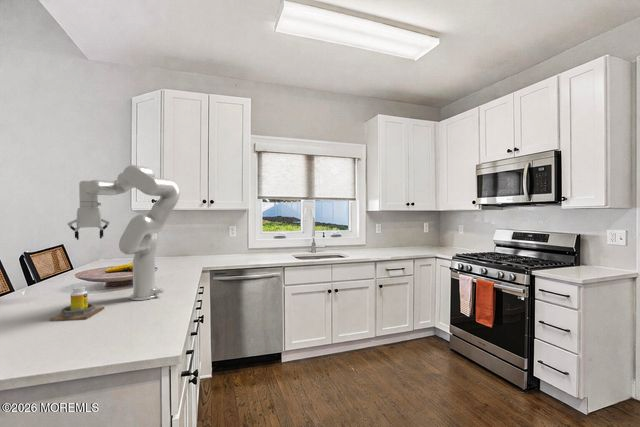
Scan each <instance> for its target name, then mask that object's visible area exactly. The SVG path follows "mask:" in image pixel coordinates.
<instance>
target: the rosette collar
mask: <svg viewBox="0 0 640 427" xmlns="http://www.w3.org/2000/svg"><path fill="white" fill-rule="evenodd" d="M103 309H104V310H105V306H96V304H95V303H89V302H88V308H86V309H83V310H77V311H71V305H69V306H66V307H64V308H61V313H59V314H57V315H55V316H51V317H50V320H49V321H50V322H54V321H55V322H57V321H58V322H59V321H80V320H81V321H82V320H88V319H89V318H92V317H93V316H95V315H97V314H99V313H100V312H102V311H104V310H103Z"/></svg>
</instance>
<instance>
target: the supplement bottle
mask: <svg viewBox="0 0 640 427" xmlns="http://www.w3.org/2000/svg"><path fill="white" fill-rule="evenodd" d="M88 301H89V300H88V291H87V290H86V287H85V286H84V285H83V286H82V285H81V286H75V287H73V288H72V292H71V293H70V306H71V311H77V310H83V309H86V308H88V303H89V302H88Z"/></svg>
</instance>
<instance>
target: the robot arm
mask: <svg viewBox="0 0 640 427" xmlns="http://www.w3.org/2000/svg"><path fill="white" fill-rule="evenodd" d="M78 184H79V185H78V187H79V188H78V189H79V190H78V192H79V194H78V196H79V197H78V198H79V207H77V210H76V219H73V220H71V221H69V222H67V226H68V227H69V228H70V229H71V230H73V231H74V239H76V240H77V241H78V240H79V239H80V238H79V237H80V236H79V234H80V232H79V230H80V229H81V228H84V229H85V228H98V229H99V238H100V239H103V238H104V230H105V229H107V228H108V227H109V225H110V221H108V220H105V219H103V218H102V215H101V209H100V208H99V207H100V206H102V203H101V202H99V201H98V199H99V198H98V196H116V195H117V196H118V195H121V194H124V193H126V192H128V191H129V190H130V189H134V188H135V189H137V190H139V191H140V192H141V193H143V194H144V195H147V196H153V197H160V198H159V199H157V200H156V201H155V202H154V204H153V205H152V207H151V209H150V210H149V211H148V213H146V214H143V213H142V214H138V215H135V216H134V217H132V218H131V219H130V220H129V222H128V224H127V226H126V228H125V229H124V231H123V233H122V235H121V237H120V239H119V242H118V248H119V249H118V250H119V251H120V252H121V253H123V254H124V255H127V256H129V255H134V256H133V259H132V292H133V293H132V294H131V295H129V300H131V301H146V300H150V299H151V300H152V299H155V298H157V297H159V295H160V294H164V292H165V290H164V288H158V286H157V285H156V261H155V260H156V250H157V244H158V243H157V237H156V236H155V235H154V234H158V233H160V232H161V231H162V230H163V229H164V226H165V224H166V222H167V221H168V219H169V217H170V215H171V214H172V212H173V210H174V208H175V207H176V206H177V204H178V201H179V199H180V189H179V186H178V184H177V183H176V182H174V181H173V180H171V179H168V178H164V177H163V178H162V177H156V174H155V172H154V170H153V169H152V168H150V167H147V166H143V165H142V166H141V165H137V164H136V165H135V164H131V165H128V166H126V167H125V168H124V169H123V172H120V173H119V174H118V175H117V179H116V180H104V179H92V180H81V181H79V183H78ZM75 223H76V227H74V226H73V224H75ZM102 223H105V224H104V225H103V226H102Z"/></svg>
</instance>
